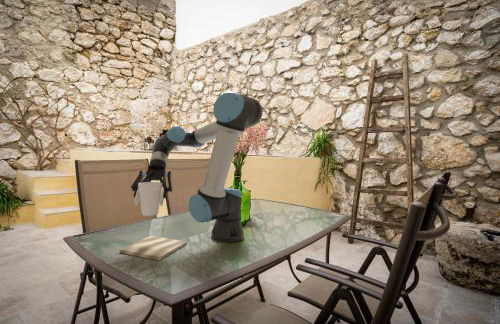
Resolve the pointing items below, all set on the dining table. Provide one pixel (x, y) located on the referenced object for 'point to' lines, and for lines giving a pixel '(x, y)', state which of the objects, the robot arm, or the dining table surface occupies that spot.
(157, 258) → the ash board
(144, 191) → the foam cup
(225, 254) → the dining table surface
